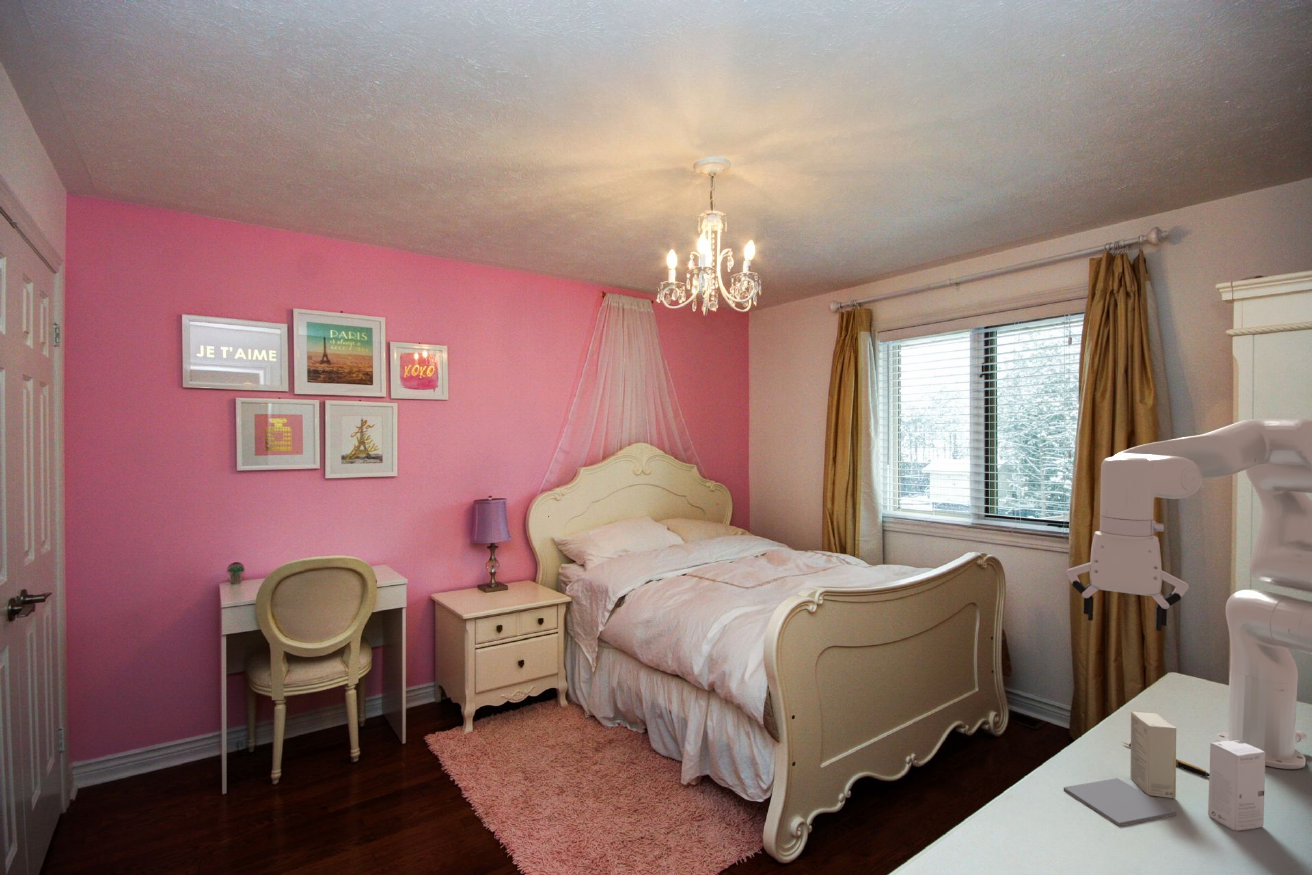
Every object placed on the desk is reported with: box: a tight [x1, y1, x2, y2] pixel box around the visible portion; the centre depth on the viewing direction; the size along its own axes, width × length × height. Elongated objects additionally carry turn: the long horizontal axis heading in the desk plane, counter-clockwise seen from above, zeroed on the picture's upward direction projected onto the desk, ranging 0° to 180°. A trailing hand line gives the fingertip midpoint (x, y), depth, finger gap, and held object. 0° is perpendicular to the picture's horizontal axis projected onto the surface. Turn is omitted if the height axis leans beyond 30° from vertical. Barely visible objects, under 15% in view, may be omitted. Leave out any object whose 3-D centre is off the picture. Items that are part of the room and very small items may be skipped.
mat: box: [1063, 777, 1177, 827], centre depth 107 cm, size 12×10×1 cm
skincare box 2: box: [1207, 740, 1266, 831], centre depth 102 cm, size 6×4×12 cm
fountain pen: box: [1121, 741, 1210, 777], centre depth 121 cm, size 14×1×2 cm, turn 32°
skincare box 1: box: [1129, 710, 1177, 799], centre depth 112 cm, size 6×4×12 cm
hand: (1123, 623), depth 112 cm, fingers open, 9 cm apart
